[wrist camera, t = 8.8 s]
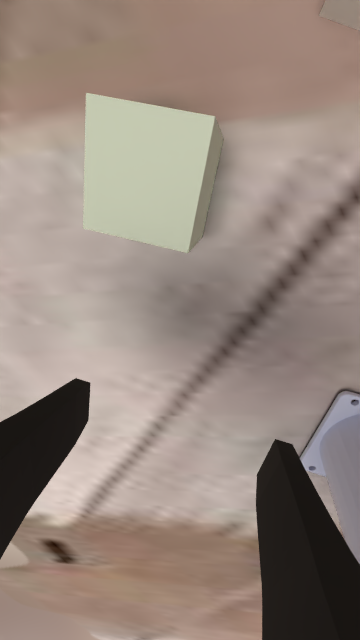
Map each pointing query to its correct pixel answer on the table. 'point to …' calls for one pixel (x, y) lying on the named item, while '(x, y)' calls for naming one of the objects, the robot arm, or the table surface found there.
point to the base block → (342, 12)
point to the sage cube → (148, 171)
